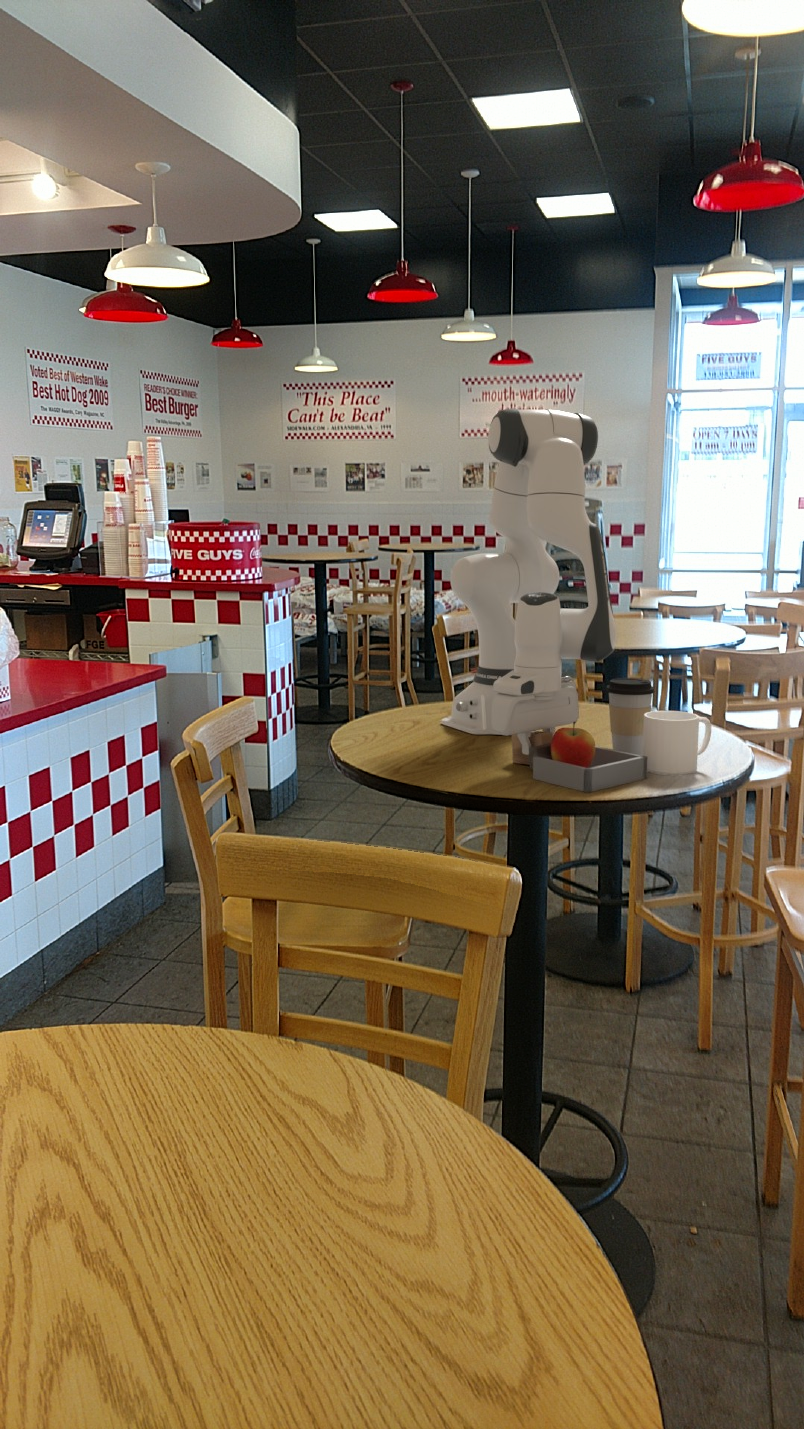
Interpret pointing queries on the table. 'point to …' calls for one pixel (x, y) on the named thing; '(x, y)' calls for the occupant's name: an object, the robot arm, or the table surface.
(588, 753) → the apple
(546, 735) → the tan grey t-shaped block
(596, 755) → the tray
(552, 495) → the robot arm
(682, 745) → the mug
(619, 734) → the coffee cup
